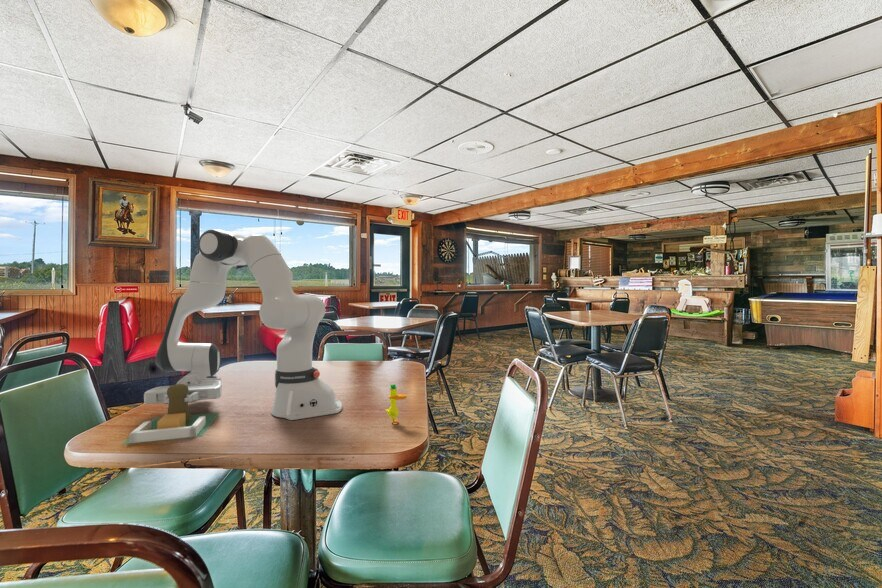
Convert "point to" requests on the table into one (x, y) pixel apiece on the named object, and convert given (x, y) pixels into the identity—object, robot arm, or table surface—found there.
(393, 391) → the toy figure
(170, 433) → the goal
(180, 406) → the cork
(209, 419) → the mat
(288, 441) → the table surface
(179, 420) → the yellow block
